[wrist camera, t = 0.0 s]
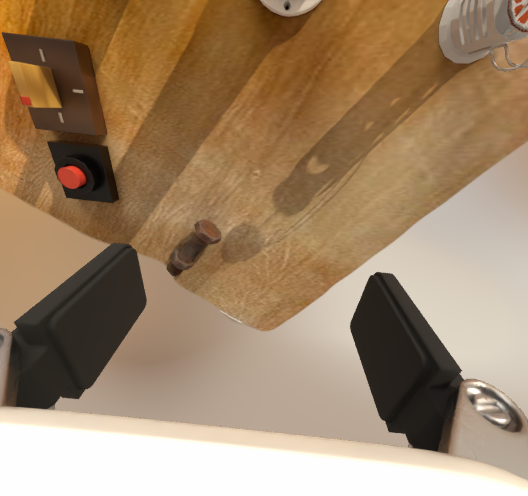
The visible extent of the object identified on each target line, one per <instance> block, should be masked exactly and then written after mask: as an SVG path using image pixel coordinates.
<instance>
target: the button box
mask: <svg viewBox="0 0 528 496" xmlns="http://www.w3.org/2000/svg"><path fill="white" fill-rule="evenodd" d="M48 145H49V148H50V151H51V154H52V157H53V160H54V163H55V172H56V175H57V178H58V171H59V169H60V168H63V167H67V166H76V167H78V168H80V169H81V170H82V171H83V172H84V174H85V176H86V183H85V185H83V186H81V187H78V188H75V189H71V188H68V187H66V186H65V185H63V184H62V186H63V189H64V192H65V195H66V198H73V199H82V200H91V201H100V202H109V203H113V202H115V201H117V200H119V196H118V192H117V187H116V183H115V179H114V174H113V170H112V165H111V161H110V156H109V152H108V147H107V146H102V145H93V144H85V143H76V142H67V141H58V140H57V141H49V142H48ZM58 180H59V178H58ZM59 181H60V180H59ZM60 182H61V181H60Z"/></svg>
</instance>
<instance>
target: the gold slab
mask: <svg viewBox="0 0 528 496" xmlns="http://www.w3.org/2000/svg"><path fill="white" fill-rule="evenodd" d="M8 63H9V66H10V69H11V71H12V74H13V77H14V80H15V82H16V85H17V88H18V91H19V94H20V98H21V101H22V104H23V105H24V106H25V107H34V108H62V105H61V101H60V98H59V94H58V91H57V88H56V84H55V81H54V77H53V74H52V70H51V68H47V67H41V66H36V65H31V64H26V63H20V62H13V61H8Z"/></svg>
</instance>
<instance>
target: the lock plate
mask: <svg viewBox="0 0 528 496" xmlns="http://www.w3.org/2000/svg"><path fill="white" fill-rule="evenodd" d="M2 35H3V38H4V41H5V44H6V46H7V49H8V52H9V55H10V58H11V61H13V62H20V63H26V64H31V65H36V66H41V67H47V68H51V70H52V74H53V77H54V81H55V84H56V88H57V91H58V94H59V98H60V101H61V105H62V108H34V107H28V108H29V111H30V114H31V117H32V120H33V123H34V125H35V128H36V129H43V130H52V131H61V132H70V133H78V134H87V135H104V134H107V130H106V126H105V121H104V117H103V112H102V107H101V103H100V98H99V94H98V89H97V85H96V80H95V75H94V71H93V66H92V62H91V57H90V52H89V48H88V46H87V45H84V44H81V43H78V42H76V41H72V40H63V39H55V38H46V37H38V36H29V35H21V34H12V33H4V32H2Z"/></svg>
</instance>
